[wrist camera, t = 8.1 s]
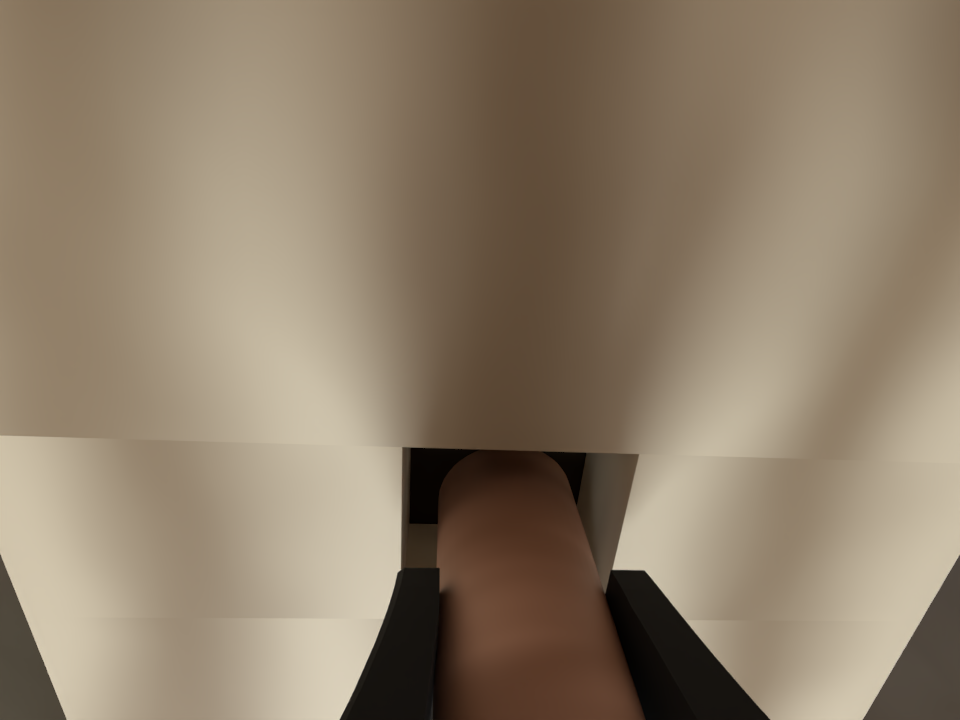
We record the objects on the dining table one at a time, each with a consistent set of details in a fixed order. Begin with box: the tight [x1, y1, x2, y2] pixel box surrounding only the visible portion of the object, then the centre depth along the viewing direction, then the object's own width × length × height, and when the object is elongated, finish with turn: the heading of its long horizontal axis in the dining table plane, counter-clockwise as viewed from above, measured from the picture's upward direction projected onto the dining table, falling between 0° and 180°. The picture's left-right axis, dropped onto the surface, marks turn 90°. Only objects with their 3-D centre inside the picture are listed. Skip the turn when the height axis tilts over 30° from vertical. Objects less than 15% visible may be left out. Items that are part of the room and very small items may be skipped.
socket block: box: [0, 0, 960, 720], centre depth 12 cm, size 20×20×3 cm
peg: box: [433, 449, 646, 720], centre depth 8 cm, size 3×3×10 cm
